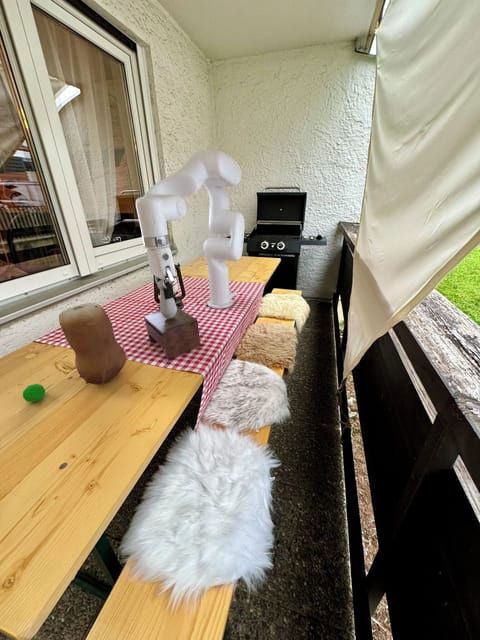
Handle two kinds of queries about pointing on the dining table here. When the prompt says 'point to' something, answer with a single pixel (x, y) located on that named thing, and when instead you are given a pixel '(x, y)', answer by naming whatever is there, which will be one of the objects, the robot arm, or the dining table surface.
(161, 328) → the dark walnut cube
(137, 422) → the dining table surface
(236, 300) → the dining table surface
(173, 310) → the salt shaker
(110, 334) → the butternut squash
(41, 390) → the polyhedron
